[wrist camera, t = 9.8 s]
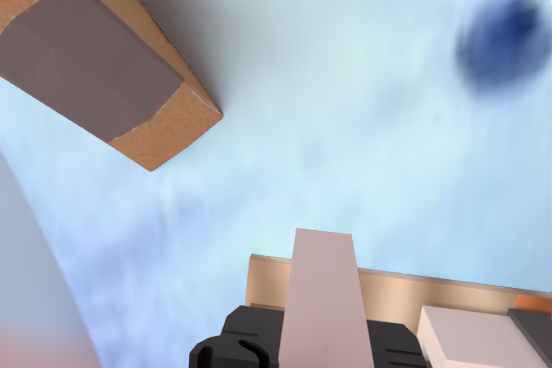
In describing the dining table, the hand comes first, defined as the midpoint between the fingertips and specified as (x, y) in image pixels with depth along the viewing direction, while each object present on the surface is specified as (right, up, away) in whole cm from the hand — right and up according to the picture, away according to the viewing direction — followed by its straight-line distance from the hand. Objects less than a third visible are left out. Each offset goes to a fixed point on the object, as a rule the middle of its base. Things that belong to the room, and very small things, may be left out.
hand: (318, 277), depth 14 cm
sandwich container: (-13, +12, +28) cm, 33 cm away
